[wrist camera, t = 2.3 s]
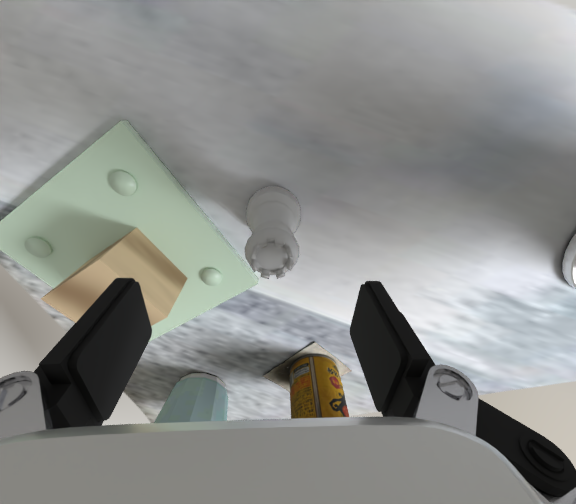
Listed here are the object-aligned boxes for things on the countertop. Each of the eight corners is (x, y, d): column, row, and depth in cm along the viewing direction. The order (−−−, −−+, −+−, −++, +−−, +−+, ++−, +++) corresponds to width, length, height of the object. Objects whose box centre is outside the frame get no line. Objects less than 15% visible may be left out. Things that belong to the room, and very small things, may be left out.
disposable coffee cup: (253, 403, 35) (238, 580, 22) (180, 417, 36) (124, 594, 23) (223, 352, 30) (180, 544, 17) (139, 370, 31) (37, 565, 18)
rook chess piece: (310, 202, 21) (327, 249, 14) (282, 243, 23) (284, 302, 16) (264, 173, 20) (256, 209, 13) (237, 219, 22) (218, 272, 15)
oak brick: (136, 227, 21) (99, 259, 16) (187, 278, 23) (167, 317, 19) (87, 261, 22) (40, 298, 18) (140, 305, 25) (111, 347, 20)
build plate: (126, 120, 18) (118, 120, 17) (258, 278, 25) (257, 285, 24) (-9, 232, 21) (-22, 238, 20) (139, 342, 28) (134, 351, 27)
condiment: (351, 369, 32) (387, 495, 22) (300, 398, 35) (310, 522, 24) (314, 340, 29) (335, 469, 19) (262, 373, 32) (254, 503, 21)
